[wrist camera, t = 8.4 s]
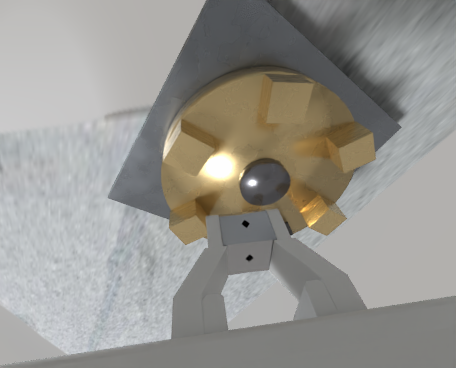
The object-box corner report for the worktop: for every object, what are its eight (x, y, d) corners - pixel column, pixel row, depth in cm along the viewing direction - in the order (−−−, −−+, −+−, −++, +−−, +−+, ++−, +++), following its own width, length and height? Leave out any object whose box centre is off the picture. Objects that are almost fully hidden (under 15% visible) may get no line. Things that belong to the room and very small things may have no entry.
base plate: (223, -33, 19) (227, -37, 17) (389, 120, 29) (402, 127, 28) (111, 187, 29) (107, 199, 28) (264, 243, 40) (268, 254, 38)
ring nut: (119, 132, 23) (105, 163, 19) (322, 19, 20) (361, 24, 16) (217, 247, 35) (222, 282, 31) (354, 186, 32) (381, 216, 27)
